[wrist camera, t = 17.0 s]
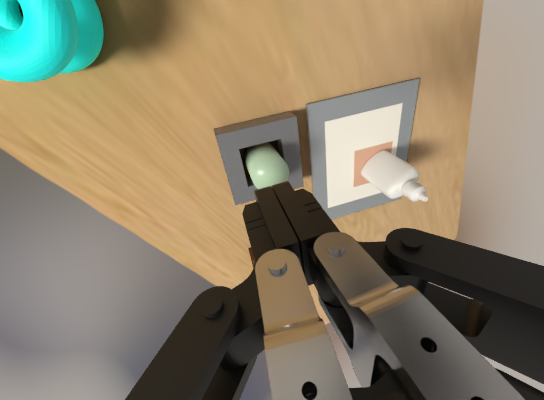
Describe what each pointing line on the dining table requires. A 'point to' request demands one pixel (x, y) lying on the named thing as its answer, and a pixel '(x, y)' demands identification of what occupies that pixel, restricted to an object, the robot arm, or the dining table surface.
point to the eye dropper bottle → (393, 176)
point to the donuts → (48, 38)
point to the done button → (265, 165)
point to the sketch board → (357, 143)
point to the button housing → (253, 134)
